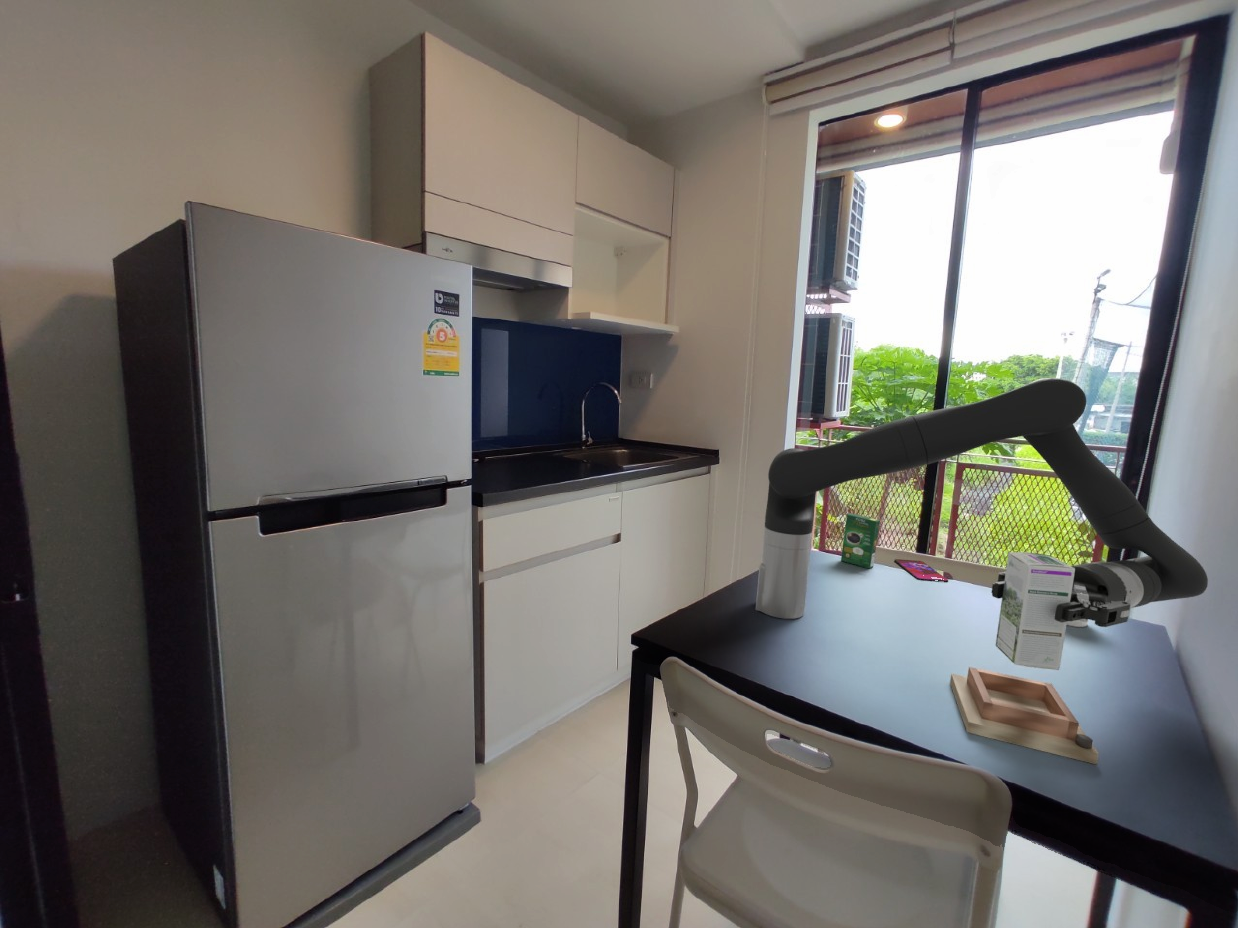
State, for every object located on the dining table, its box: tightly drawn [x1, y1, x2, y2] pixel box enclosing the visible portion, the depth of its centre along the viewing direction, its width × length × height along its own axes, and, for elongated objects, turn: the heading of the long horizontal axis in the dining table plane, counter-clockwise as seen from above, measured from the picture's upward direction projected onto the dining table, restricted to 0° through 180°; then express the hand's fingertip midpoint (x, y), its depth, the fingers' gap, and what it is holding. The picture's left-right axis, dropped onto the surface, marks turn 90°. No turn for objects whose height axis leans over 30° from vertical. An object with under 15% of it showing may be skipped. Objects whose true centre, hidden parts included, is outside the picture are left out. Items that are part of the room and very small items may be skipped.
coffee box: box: [840, 513, 881, 570], centre depth 143 cm, size 8×3×13 cm, turn 44°
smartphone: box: [894, 558, 949, 583], centre depth 141 cm, size 8×1×15 cm
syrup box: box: [995, 551, 1075, 671], centre depth 75 cm, size 6×6×14 cm
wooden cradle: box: [949, 666, 1100, 765], centre depth 77 cm, size 14×14×4 cm
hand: (1025, 601), depth 74 cm, fingers closed on syrup box, 7 cm apart
